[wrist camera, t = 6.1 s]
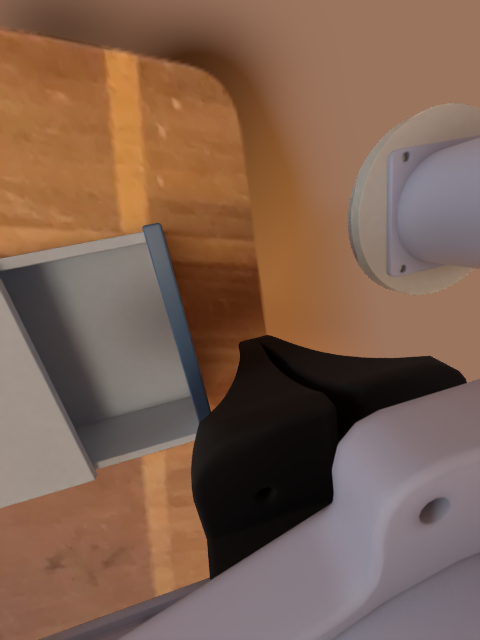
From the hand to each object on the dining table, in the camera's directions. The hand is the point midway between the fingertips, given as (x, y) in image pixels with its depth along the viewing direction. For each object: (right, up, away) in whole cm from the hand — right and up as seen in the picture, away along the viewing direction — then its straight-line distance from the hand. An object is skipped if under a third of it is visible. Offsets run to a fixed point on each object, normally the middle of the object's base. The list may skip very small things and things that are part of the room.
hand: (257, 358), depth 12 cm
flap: (-3, -1, -1) cm, 3 cm away
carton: (-11, 0, +6) cm, 12 cm away
